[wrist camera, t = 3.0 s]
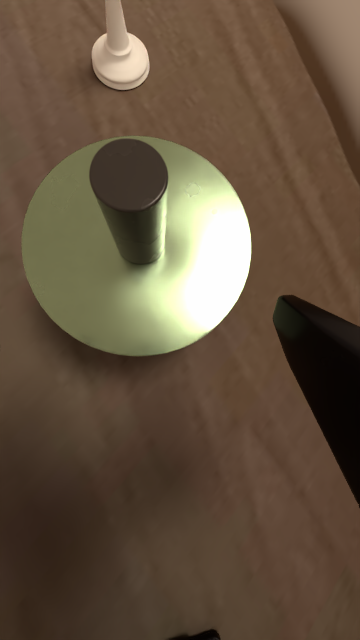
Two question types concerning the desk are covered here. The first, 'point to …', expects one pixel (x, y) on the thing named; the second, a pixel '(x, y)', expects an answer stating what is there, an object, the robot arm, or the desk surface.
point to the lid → (136, 246)
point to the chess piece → (119, 53)
